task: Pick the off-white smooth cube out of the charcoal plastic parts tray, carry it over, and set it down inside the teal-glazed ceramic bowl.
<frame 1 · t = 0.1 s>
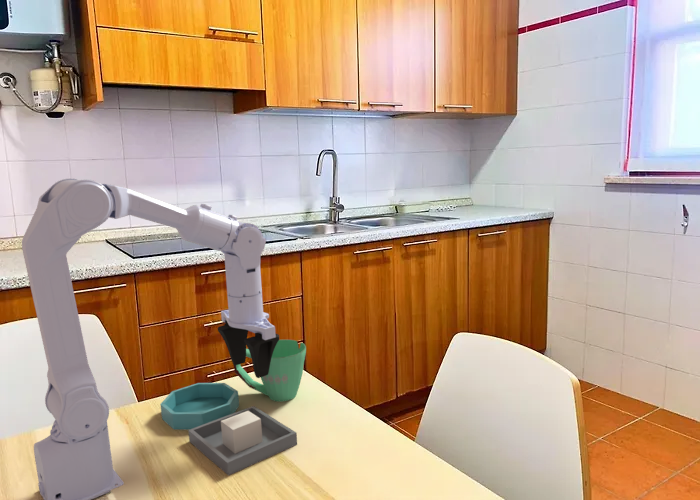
hand: (250, 369, 94), 10 cm above the table, fingers open, 7 cm apart
bowl: (201, 414, 100), on the table
off-white smooth cube: (242, 442, 88), resting on parts tray
mug: (271, 398, 106), on the table
parts tray: (242, 445, 88), on the table
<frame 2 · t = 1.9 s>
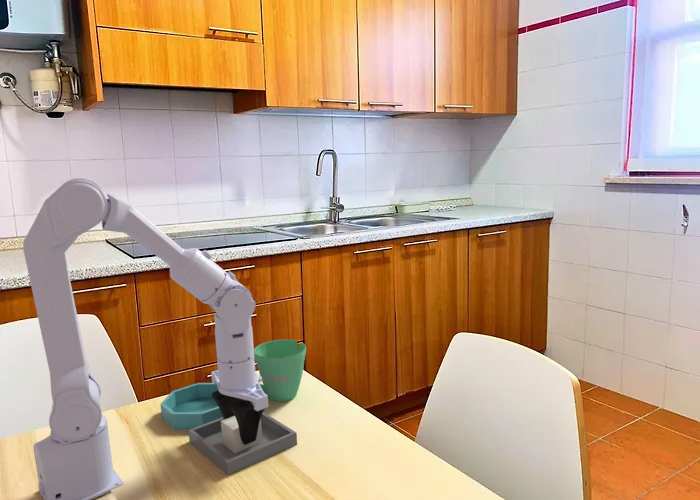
hand: (242, 436, 88), 2 cm above the table, fingers closed on off-white smooth cube, 4 cm apart
off-white smooth cube: (242, 442, 88), resting on parts tray, touching gripper
everything else where it was.
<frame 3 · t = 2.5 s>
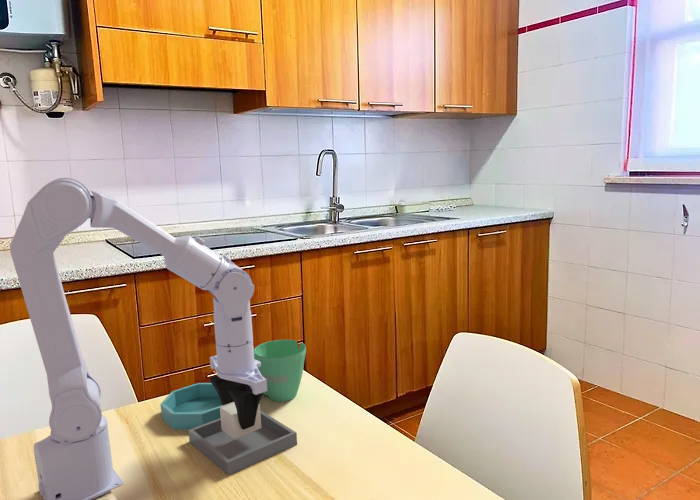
hand: (240, 421, 88), 4 cm above the table, fingers closed on off-white smooth cube, 4 cm apart
off-white smooth cube: (241, 428, 88), point 3 cm above the table, touching gripper
everything else where it was.
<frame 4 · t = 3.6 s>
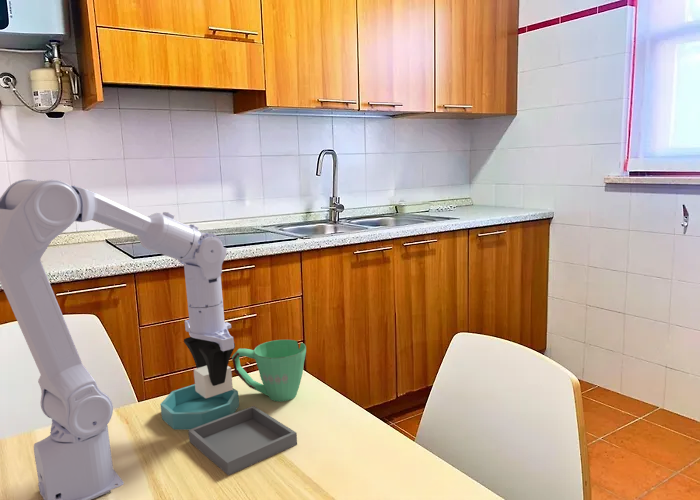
hand: (212, 379, 94), 8 cm above the table, fingers closed on off-white smooth cube, 4 cm apart
off-white smooth cube: (214, 390, 94), point 6 cm above the table, touching gripper
everything else where it was.
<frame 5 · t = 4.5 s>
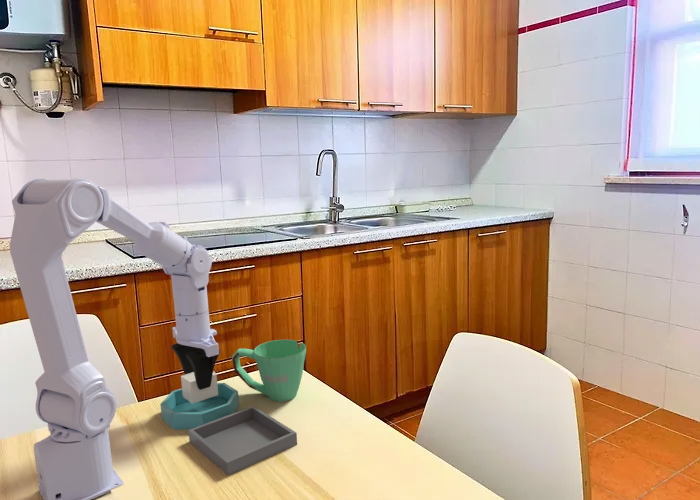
hand: (198, 383, 99), 6 cm above the table, fingers closed on off-white smooth cube, 4 cm apart
off-white smooth cube: (200, 395, 99), point 4 cm above the table, touching gripper
everything else where it was.
when the fingers open (4 cm above the table, at t = 5.3 s): off-white smooth cube stays where it is, resting on bowl.
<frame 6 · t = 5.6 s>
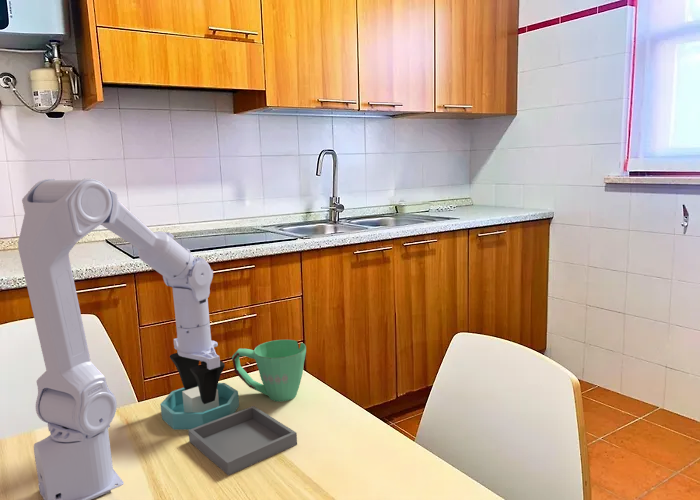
hand: (199, 395, 99), 4 cm above the table, fingers open, 7 cm apart
off-white smooth cube: (201, 411, 100), point 1 cm above the table, touching bowl
everything else where it was.
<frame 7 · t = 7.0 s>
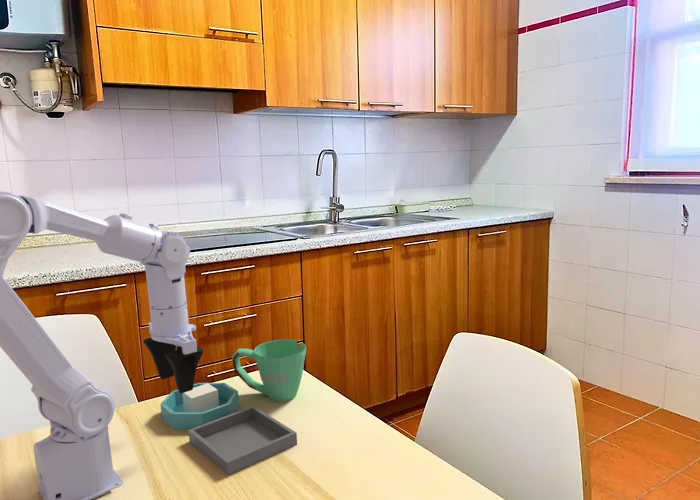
hand: (176, 383, 91), 9 cm above the table, fingers open, 7 cm apart
nothing on the table moved.
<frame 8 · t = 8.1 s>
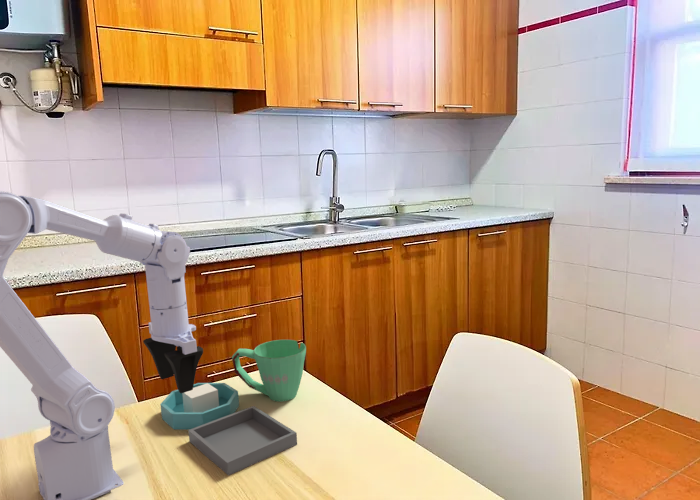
hand: (176, 383, 91), 9 cm above the table, fingers open, 7 cm apart
nothing on the table moved.
at the end: off-white smooth cube inside the target area on the bowl (0.1 cm from its centre), point 0.6 cm above the bowl's base; the gripper is holding nothing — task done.
